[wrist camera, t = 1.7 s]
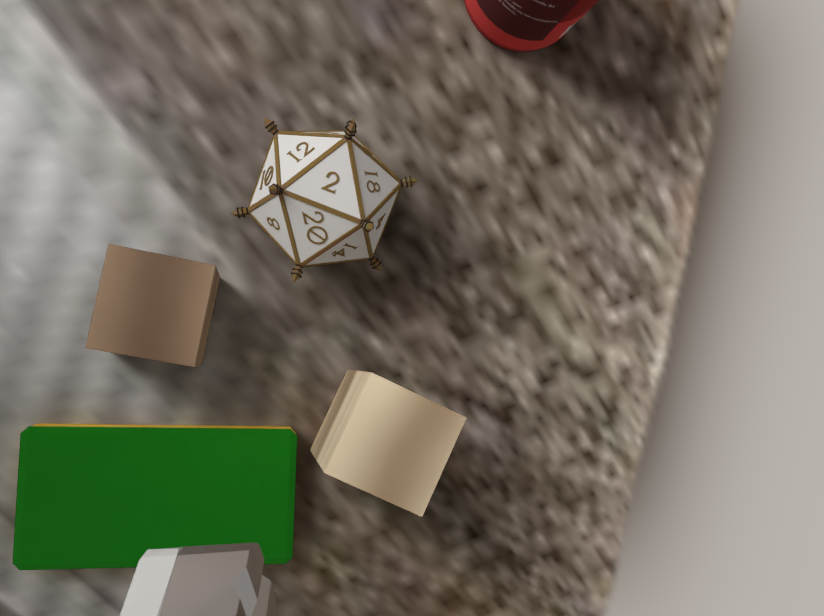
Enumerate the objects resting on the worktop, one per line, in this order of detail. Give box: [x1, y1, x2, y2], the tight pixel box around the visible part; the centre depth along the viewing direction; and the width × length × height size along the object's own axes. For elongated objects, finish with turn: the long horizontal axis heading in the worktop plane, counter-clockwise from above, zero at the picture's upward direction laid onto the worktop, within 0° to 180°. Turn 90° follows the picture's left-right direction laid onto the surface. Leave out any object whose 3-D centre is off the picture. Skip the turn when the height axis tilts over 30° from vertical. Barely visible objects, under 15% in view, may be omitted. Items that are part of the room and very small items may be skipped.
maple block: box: [310, 370, 466, 517], centre depth 40 cm, size 5×5×9 cm
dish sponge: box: [13, 424, 297, 570], centre depth 41 cm, size 7×14×2 cm, turn 88°
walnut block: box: [85, 244, 220, 367], centre depth 40 cm, size 5×5×6 cm
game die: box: [231, 118, 418, 282], centre depth 41 cm, size 9×8×10 cm
